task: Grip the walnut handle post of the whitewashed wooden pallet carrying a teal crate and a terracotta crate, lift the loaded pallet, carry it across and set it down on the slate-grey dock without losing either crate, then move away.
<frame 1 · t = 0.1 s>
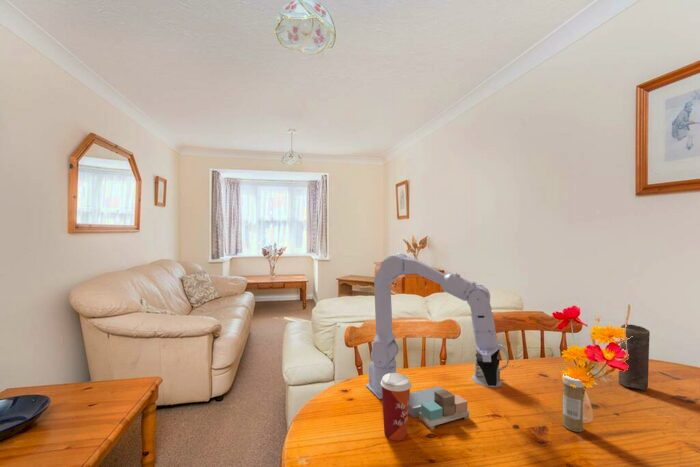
hand: (492, 379, 89), 11 cm above the table, tool pointing down, fingers open, 7 cm apart
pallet: (444, 418, 88), on the table, touching teal crate, terracotta crate
sprinkles bottle: (572, 428, 84), on the table
candle: (633, 387, 107), on the table
french press: (489, 381, 110), on the table
terracotta crate: (456, 408, 90), point 2 cm above the table, touching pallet
dock: (427, 405, 95), on the table
teal crate: (431, 415, 86), point 2 cm above the table, touching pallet
paper cup: (395, 434, 81), on the table
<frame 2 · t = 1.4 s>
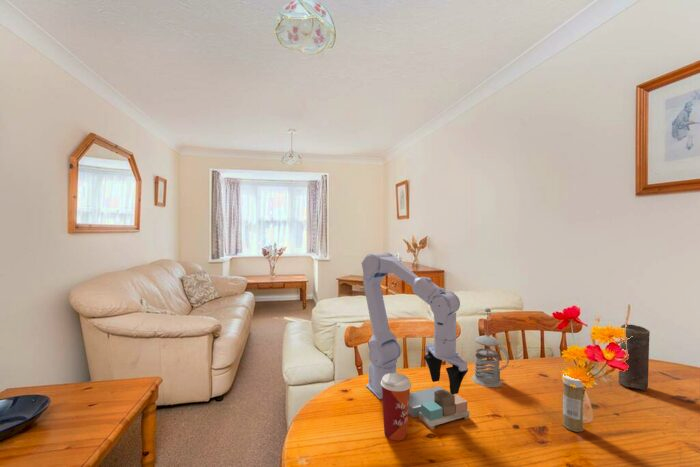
hand: (444, 386, 88), 9 cm above the table, tool pointing down, fingers open, 7 cm apart
nothing on the table moved.
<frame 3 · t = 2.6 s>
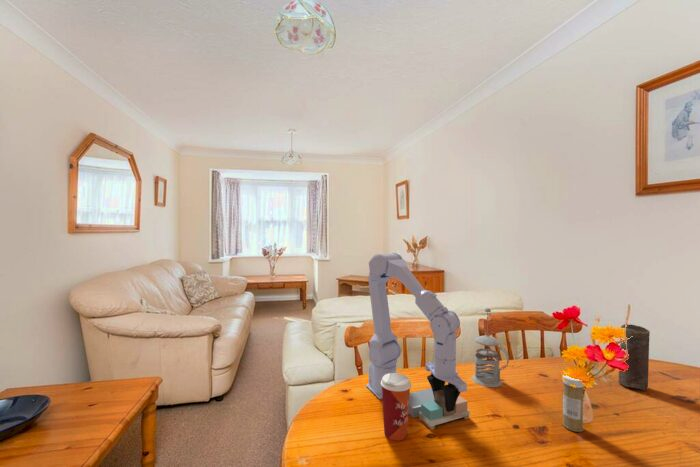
hand: (444, 406, 88), 3 cm above the table, tool pointing down, fingers closed on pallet, 4 cm apart
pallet: (444, 418, 88), on the table, touching gripper, teal crate, terracotta crate
everything else where it was.
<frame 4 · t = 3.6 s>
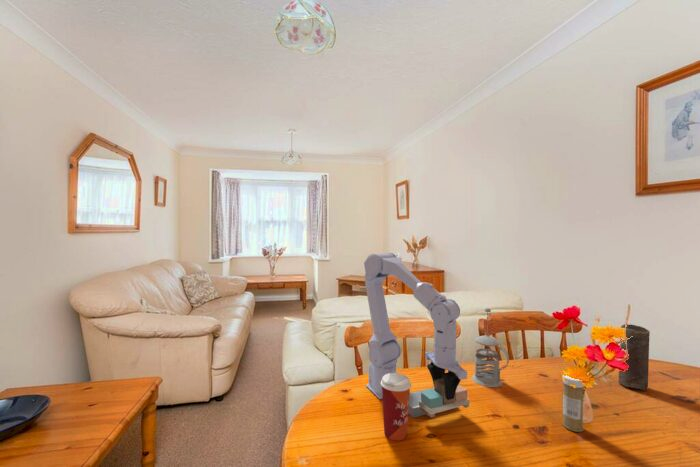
hand: (444, 394, 88), 7 cm above the table, tool pointing down, fingers closed on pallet, 4 cm apart
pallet: (444, 407, 88), point 3 cm above the table, touching gripper, teal crate, terracotta crate
terracotta crate: (456, 396, 90), point 5 cm above the table, touching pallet
teal crate: (431, 403, 86), point 5 cm above the table, touching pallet
everything else where it was.
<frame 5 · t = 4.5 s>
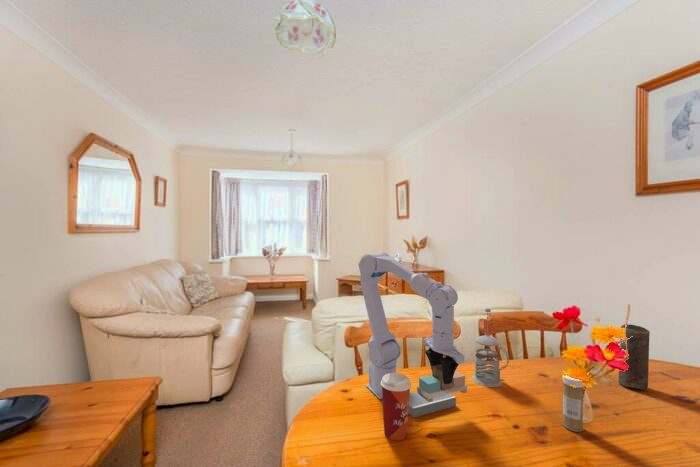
hand: (442, 379, 89), 10 cm above the table, tool pointing down, fingers closed on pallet, 4 cm apart
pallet: (442, 392, 89), point 7 cm above the table, touching gripper, teal crate, terracotta crate
terracotta crate: (454, 382, 90), point 9 cm above the table, touching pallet
teal crate: (429, 388, 87), point 9 cm above the table, touching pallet
everything else where it was.
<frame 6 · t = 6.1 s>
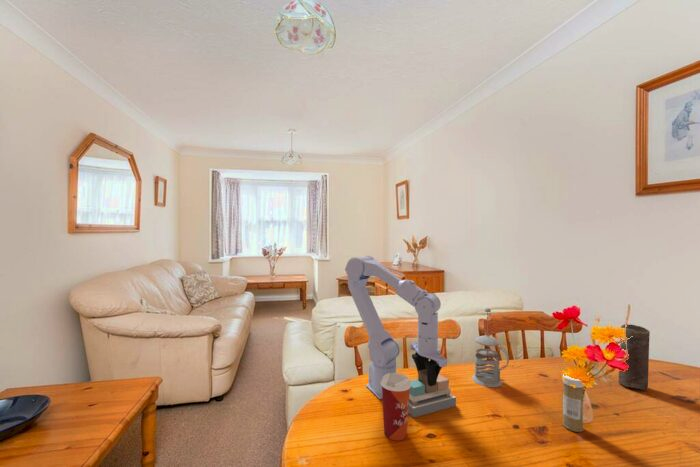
hand: (427, 381, 95), 7 cm above the table, tool pointing down, fingers closed on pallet, 4 cm apart
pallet: (427, 395, 95), point 3 cm above the table, touching gripper, teal crate, terracotta crate
terracotta crate: (438, 386, 96), point 5 cm above the table, touching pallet
teal crate: (415, 392, 93), point 5 cm above the table, touching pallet
everything else where it was.
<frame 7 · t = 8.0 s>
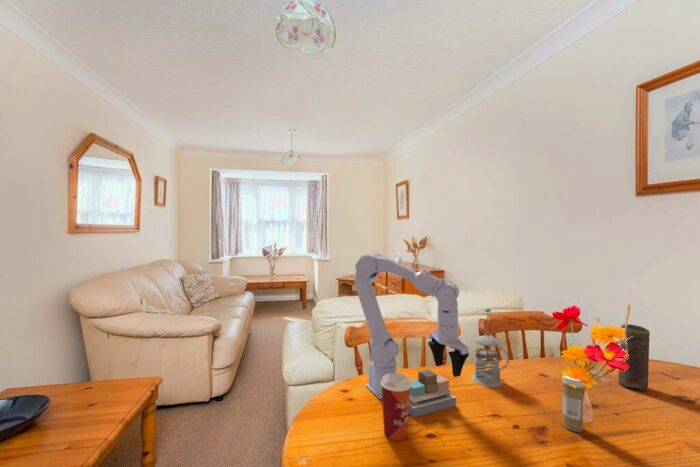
hand: (447, 370, 94), 11 cm above the table, tool pointing down, fingers open, 7 cm apart
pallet: (427, 396, 95), point 2 cm above the table, touching dock, teal crate, terracotta crate
everything else where it was.
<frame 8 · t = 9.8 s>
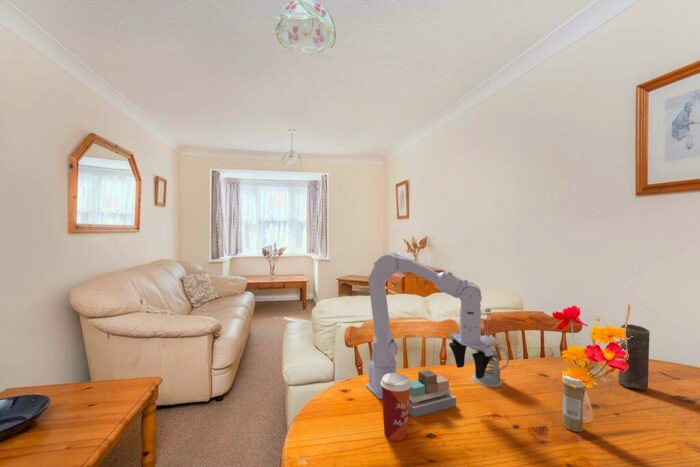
hand: (469, 372, 93), 10 cm above the table, tool pointing down, fingers open, 7 cm apart
nothing on the table moved.
at the end: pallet 0.0 cm off-centre on the dock, point 2.5 cm above the dock's base; teal crate 0.3 cm from the target spot on the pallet, point 2.0 cm above the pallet's base; terracotta crate 0.3 cm from the target spot on the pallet, point 2.0 cm above the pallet's base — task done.
